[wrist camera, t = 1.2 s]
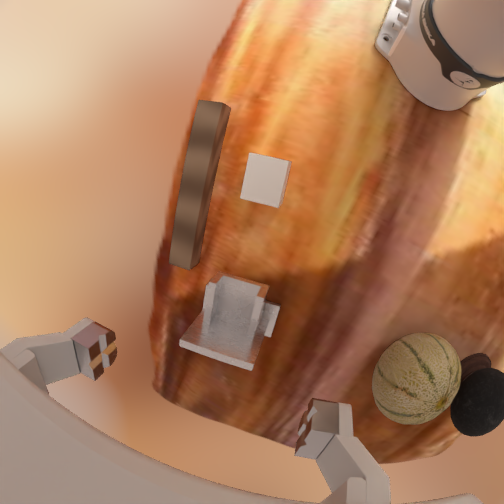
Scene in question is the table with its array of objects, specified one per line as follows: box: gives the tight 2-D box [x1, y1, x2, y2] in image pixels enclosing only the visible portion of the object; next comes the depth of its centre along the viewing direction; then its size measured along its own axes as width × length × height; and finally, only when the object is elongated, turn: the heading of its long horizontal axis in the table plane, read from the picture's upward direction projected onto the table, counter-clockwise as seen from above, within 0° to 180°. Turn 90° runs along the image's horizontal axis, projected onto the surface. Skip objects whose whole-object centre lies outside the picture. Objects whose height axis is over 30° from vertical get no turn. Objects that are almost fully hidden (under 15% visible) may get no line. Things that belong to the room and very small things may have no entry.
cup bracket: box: [179, 271, 281, 371], centre depth 39 cm, size 10×12×12 cm
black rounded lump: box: [451, 353, 504, 436], centre depth 32 cm, size 13×13×15 cm
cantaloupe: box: [372, 332, 461, 425], centre depth 34 cm, size 15×15×15 cm
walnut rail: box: [169, 100, 231, 270], centre depth 39 cm, size 24×4×4 cm, turn 167°
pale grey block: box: [240, 153, 292, 208], centre depth 36 cm, size 6×5×4 cm
